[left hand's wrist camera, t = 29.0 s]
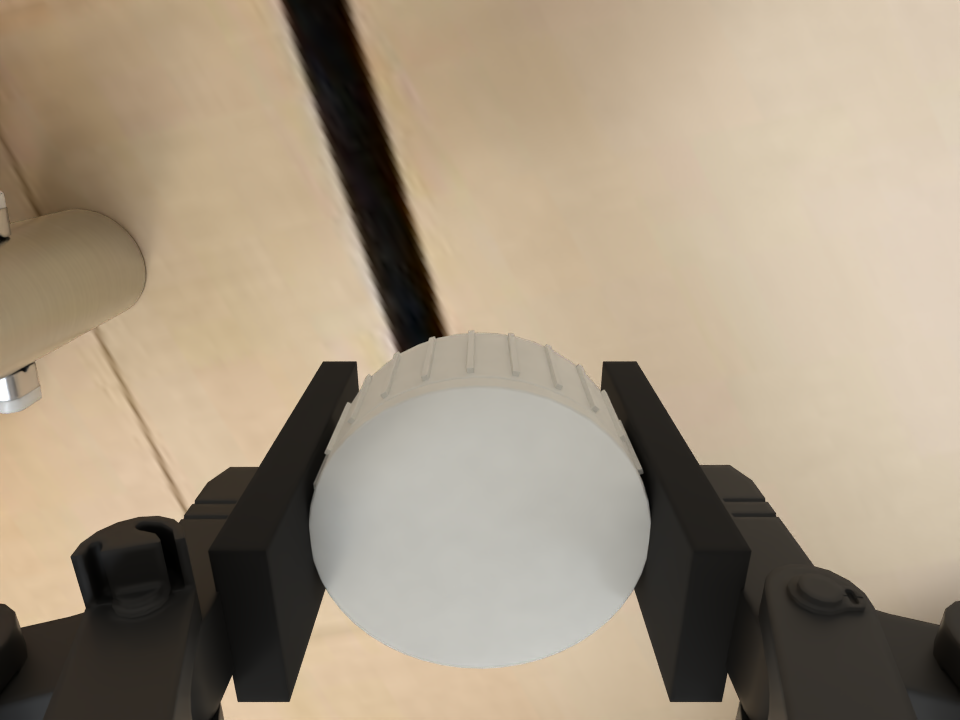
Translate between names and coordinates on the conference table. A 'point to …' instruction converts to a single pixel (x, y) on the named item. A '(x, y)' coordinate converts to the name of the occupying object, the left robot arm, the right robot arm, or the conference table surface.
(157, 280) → the conference table surface
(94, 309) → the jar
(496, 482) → the lid
